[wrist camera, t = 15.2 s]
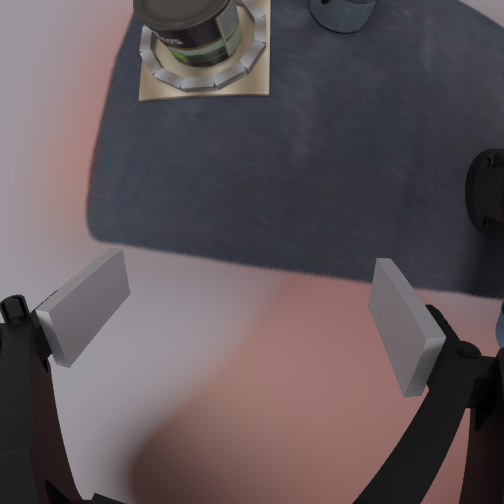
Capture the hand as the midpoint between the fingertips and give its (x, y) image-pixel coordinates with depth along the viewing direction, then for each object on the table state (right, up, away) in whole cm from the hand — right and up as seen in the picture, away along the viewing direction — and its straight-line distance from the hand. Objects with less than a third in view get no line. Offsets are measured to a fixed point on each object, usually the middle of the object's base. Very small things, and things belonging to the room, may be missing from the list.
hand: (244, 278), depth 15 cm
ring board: (-6, +31, +21) cm, 38 cm away
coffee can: (-6, +31, +20) cm, 37 cm away
